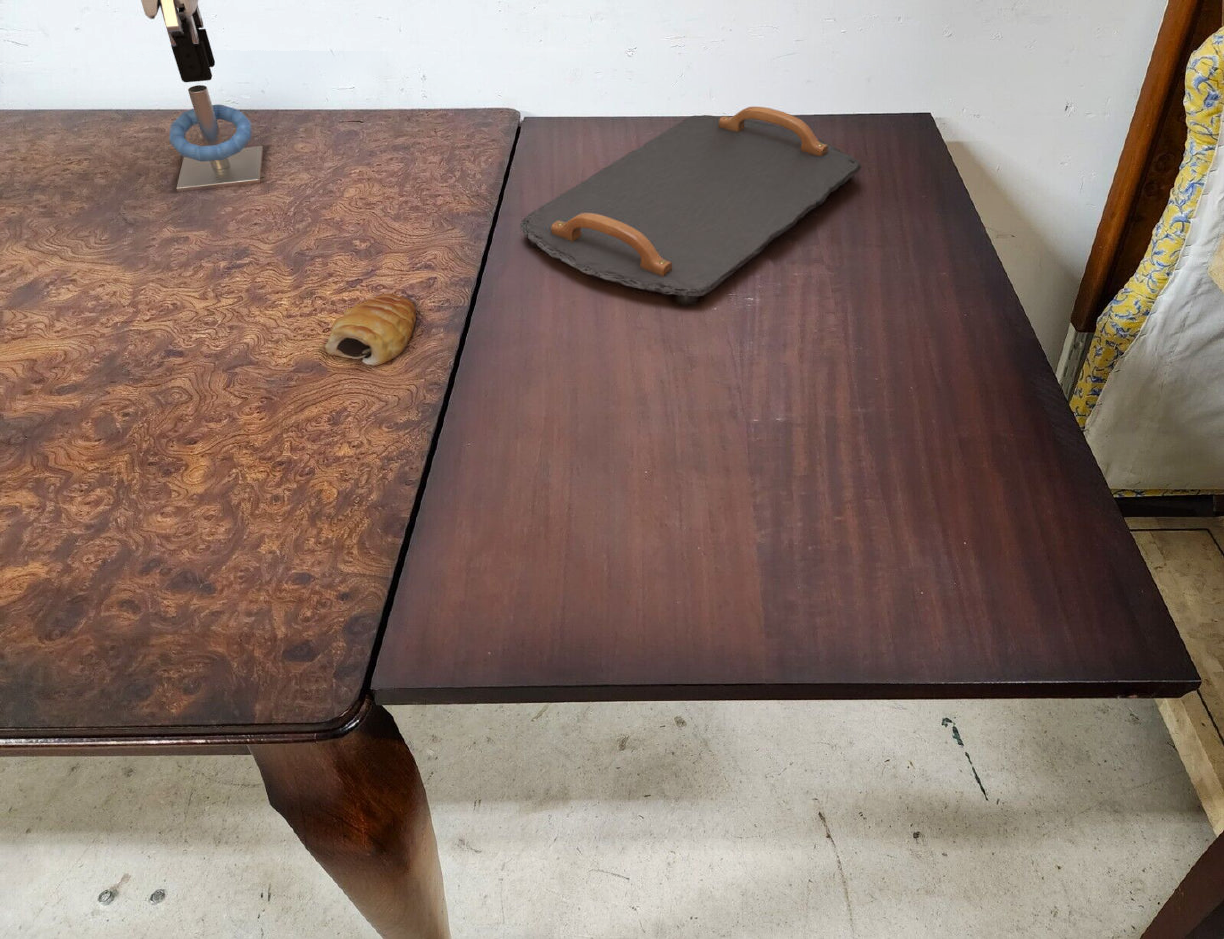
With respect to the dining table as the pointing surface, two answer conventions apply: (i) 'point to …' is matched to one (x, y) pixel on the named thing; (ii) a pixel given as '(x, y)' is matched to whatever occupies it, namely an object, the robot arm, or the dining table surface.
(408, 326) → the pastry
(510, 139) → the dining table surface
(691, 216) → the serving tray
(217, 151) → the ring
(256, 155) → the peg on square base
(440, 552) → the dining table surface
